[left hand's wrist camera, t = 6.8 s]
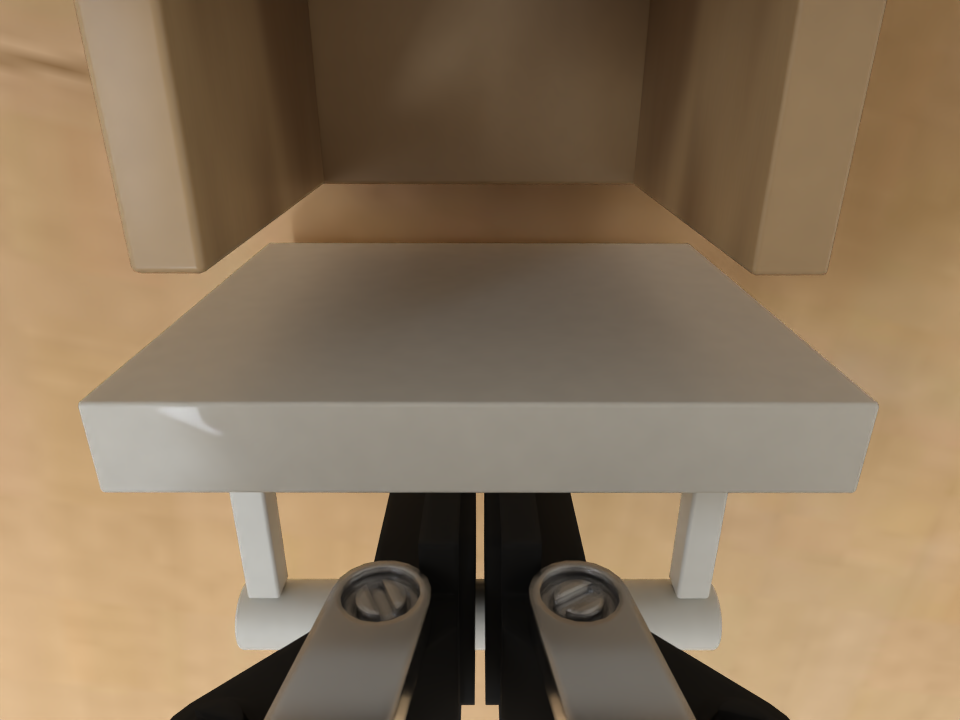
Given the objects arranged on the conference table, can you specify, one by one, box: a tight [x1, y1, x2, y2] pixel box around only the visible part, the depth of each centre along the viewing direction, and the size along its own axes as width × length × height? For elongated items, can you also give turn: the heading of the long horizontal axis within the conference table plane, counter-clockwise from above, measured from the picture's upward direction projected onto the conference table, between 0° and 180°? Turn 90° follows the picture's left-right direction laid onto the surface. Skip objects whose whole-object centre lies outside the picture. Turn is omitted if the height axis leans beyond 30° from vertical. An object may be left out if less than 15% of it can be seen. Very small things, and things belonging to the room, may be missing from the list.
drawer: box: [74, 0, 887, 650], centre depth 10 cm, size 17×9×7 cm, turn 0°
